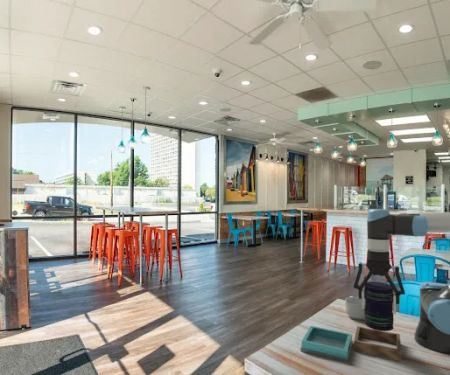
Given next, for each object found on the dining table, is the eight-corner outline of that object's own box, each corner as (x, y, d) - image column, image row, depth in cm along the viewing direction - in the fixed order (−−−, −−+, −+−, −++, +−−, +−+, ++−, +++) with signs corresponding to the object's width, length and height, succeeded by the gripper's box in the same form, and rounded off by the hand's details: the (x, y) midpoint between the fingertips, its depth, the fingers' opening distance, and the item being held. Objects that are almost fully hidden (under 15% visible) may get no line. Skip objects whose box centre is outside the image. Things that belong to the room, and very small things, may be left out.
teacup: (372, 323, 140) (372, 305, 140) (346, 320, 142) (347, 302, 142) (365, 312, 154) (365, 295, 154) (341, 309, 156) (342, 293, 156)
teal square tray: (352, 343, 120) (352, 333, 120) (348, 362, 106) (348, 351, 106) (310, 334, 127) (310, 325, 127) (300, 350, 113) (300, 341, 113)
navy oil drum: (364, 328, 115) (364, 287, 115) (363, 318, 124) (363, 280, 124) (395, 333, 111) (395, 290, 111) (392, 322, 120) (391, 283, 121)
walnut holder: (399, 343, 121) (399, 334, 121) (401, 361, 107) (401, 350, 107) (357, 334, 127) (357, 326, 127) (354, 350, 114) (354, 340, 114)
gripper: (412, 251, 117) (412, 312, 116) (347, 246, 127) (347, 302, 126) (413, 254, 110) (414, 318, 109) (345, 249, 120) (345, 308, 119)
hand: (378, 310), depth 118 cm, fingers closed on navy oil drum, 10 cm apart
